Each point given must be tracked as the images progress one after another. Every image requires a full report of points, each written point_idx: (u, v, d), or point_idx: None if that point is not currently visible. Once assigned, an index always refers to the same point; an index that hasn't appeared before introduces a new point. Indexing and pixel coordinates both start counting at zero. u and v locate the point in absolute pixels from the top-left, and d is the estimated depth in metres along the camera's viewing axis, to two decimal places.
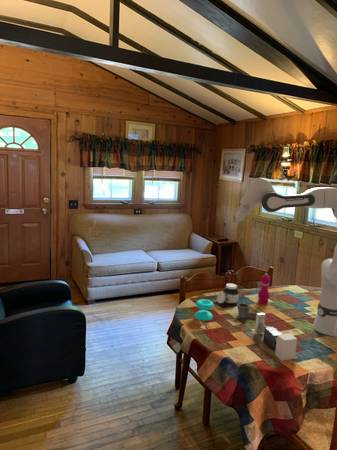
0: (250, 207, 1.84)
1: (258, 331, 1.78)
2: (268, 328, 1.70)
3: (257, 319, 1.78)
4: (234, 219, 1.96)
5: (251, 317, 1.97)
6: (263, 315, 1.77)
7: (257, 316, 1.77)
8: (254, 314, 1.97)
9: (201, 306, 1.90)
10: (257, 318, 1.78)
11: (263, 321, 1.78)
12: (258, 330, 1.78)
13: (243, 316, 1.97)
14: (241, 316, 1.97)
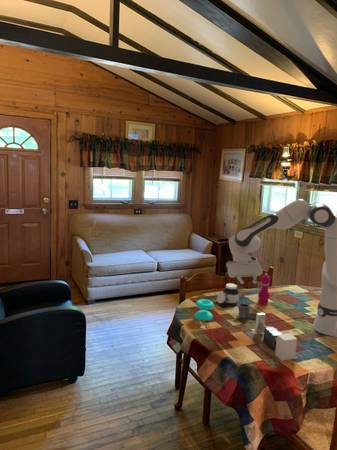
0: (237, 260, 1.94)
1: (258, 331, 1.78)
2: (268, 328, 1.70)
3: (257, 319, 1.78)
4: (253, 280, 1.92)
5: (252, 317, 1.97)
6: (263, 315, 1.77)
7: (257, 316, 1.77)
8: (255, 314, 1.96)
9: (201, 306, 1.90)
10: (257, 318, 1.78)
11: (263, 321, 1.78)
12: (258, 330, 1.78)
13: (244, 316, 1.97)
14: (242, 316, 1.97)
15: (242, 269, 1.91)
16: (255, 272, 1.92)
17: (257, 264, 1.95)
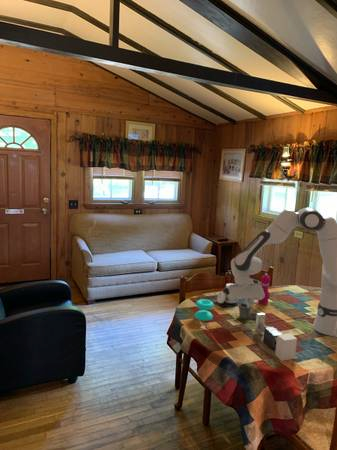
0: (239, 283, 1.92)
1: (258, 331, 1.78)
2: (268, 328, 1.70)
3: (257, 319, 1.78)
4: (250, 304, 1.89)
5: (252, 317, 1.97)
6: (263, 315, 1.77)
7: (257, 316, 1.77)
8: (255, 314, 1.96)
9: (201, 306, 1.90)
10: (257, 318, 1.78)
11: (263, 321, 1.78)
12: (258, 330, 1.78)
13: (244, 316, 1.97)
14: (242, 316, 1.97)
15: (244, 293, 1.89)
16: (257, 296, 1.90)
17: (259, 287, 1.93)
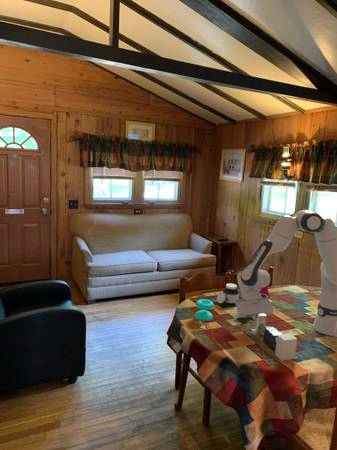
0: (246, 298, 1.84)
1: (259, 332, 1.77)
2: (268, 328, 1.70)
3: (258, 320, 1.77)
4: None
5: None
6: (264, 316, 1.76)
7: (258, 317, 1.77)
8: None
9: (201, 306, 1.90)
10: (258, 319, 1.77)
11: (264, 322, 1.77)
12: (259, 331, 1.77)
13: None
14: None
15: (252, 308, 1.82)
16: (266, 311, 1.83)
17: (267, 302, 1.86)
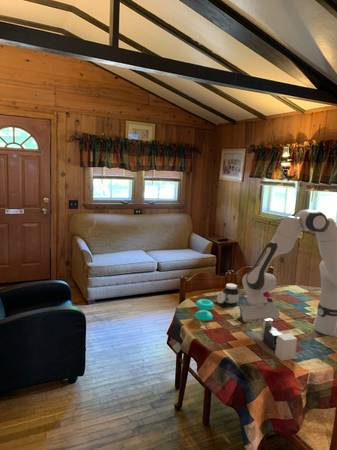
0: (252, 302, 1.79)
1: None
2: (268, 328, 1.70)
3: (264, 325, 1.72)
4: None
5: None
6: (270, 321, 1.71)
7: (264, 322, 1.71)
8: None
9: (201, 306, 1.90)
10: (264, 324, 1.72)
11: None
12: None
13: None
14: None
15: (258, 313, 1.76)
16: (272, 316, 1.77)
17: (273, 306, 1.80)
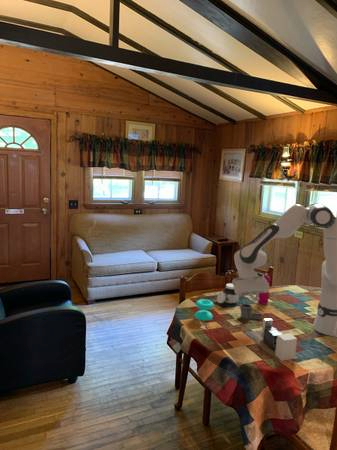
0: (243, 277, 1.88)
1: None
2: (268, 328, 1.70)
3: (264, 325, 1.72)
4: None
5: (254, 317, 1.96)
6: (270, 321, 1.71)
7: (264, 322, 1.72)
8: (257, 314, 1.96)
9: (201, 306, 1.90)
10: (264, 324, 1.72)
11: None
12: None
13: (246, 316, 1.96)
14: (244, 316, 1.97)
15: (249, 286, 1.86)
16: (262, 289, 1.87)
17: (264, 280, 1.90)
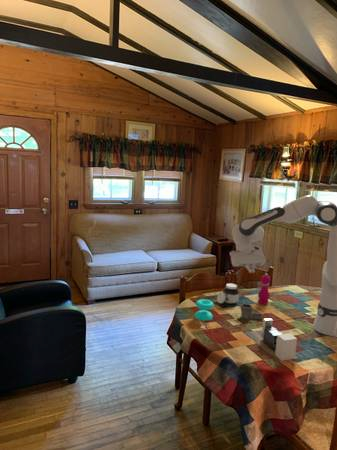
0: (240, 249, 1.94)
1: None
2: (268, 328, 1.70)
3: (264, 325, 1.72)
4: None
5: (254, 317, 1.96)
6: (270, 321, 1.71)
7: (264, 322, 1.72)
8: (257, 314, 1.96)
9: (201, 306, 1.90)
10: (264, 324, 1.72)
11: None
12: None
13: (246, 316, 1.96)
14: (244, 316, 1.97)
15: (245, 258, 1.92)
16: (258, 261, 1.93)
17: (260, 253, 1.96)
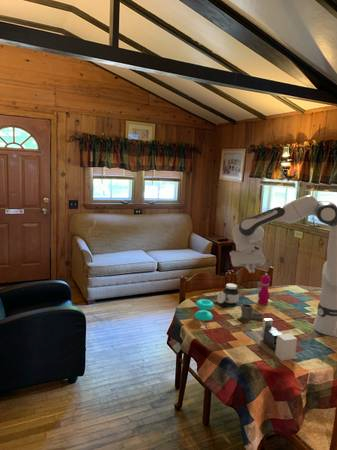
0: (240, 249, 1.94)
1: None
2: (268, 328, 1.70)
3: (264, 325, 1.72)
4: None
5: (255, 317, 1.96)
6: (270, 321, 1.71)
7: (264, 322, 1.72)
8: (257, 315, 1.96)
9: (201, 306, 1.90)
10: (264, 324, 1.72)
11: None
12: None
13: (246, 316, 1.96)
14: (244, 316, 1.97)
15: (245, 258, 1.92)
16: (258, 261, 1.93)
17: (260, 253, 1.96)
